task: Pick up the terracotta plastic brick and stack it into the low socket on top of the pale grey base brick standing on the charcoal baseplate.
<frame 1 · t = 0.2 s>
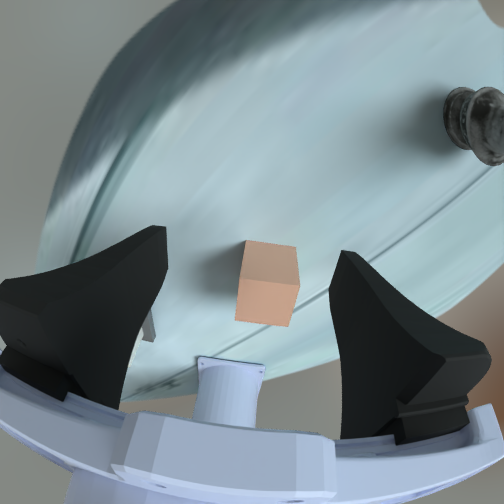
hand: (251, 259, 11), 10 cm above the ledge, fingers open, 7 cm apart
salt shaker: (466, 118, 15), on the ledge
terracotta brick: (267, 263, 24), on the ledge
tower base: (118, 304, 28), on the ledge
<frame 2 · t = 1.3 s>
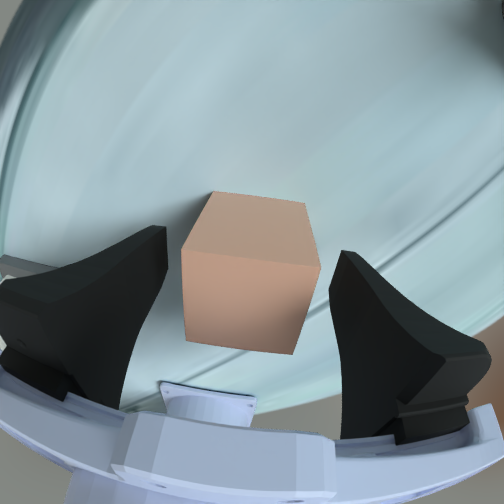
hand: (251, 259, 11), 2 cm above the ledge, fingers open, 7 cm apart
terracotta brick: (253, 236, 13), on the ledge
tower base: (49, 304, 17), on the ledge
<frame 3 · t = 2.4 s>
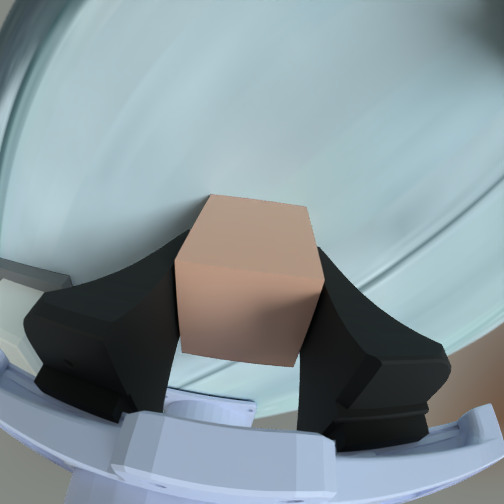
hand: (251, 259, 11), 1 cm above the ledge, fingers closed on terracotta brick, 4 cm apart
terracotta brick: (253, 241, 13), on the ledge, touching gripper
tower base: (45, 308, 17), on the ledge
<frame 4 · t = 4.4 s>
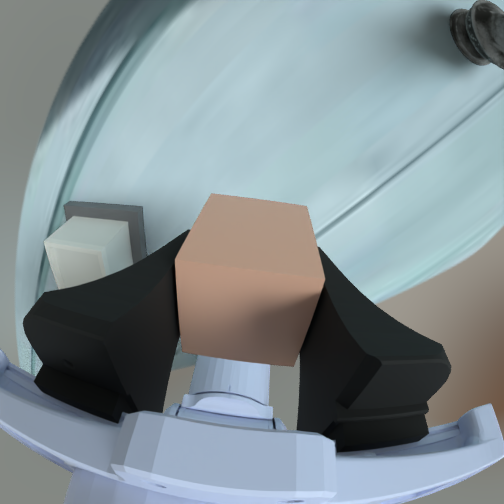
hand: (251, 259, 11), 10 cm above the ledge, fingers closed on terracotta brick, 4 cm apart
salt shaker: (472, 36, 11), on the ledge
terracotta brick: (253, 241, 13), point 9 cm above the ledge, touching gripper
tower base: (108, 242, 24), on the ledge
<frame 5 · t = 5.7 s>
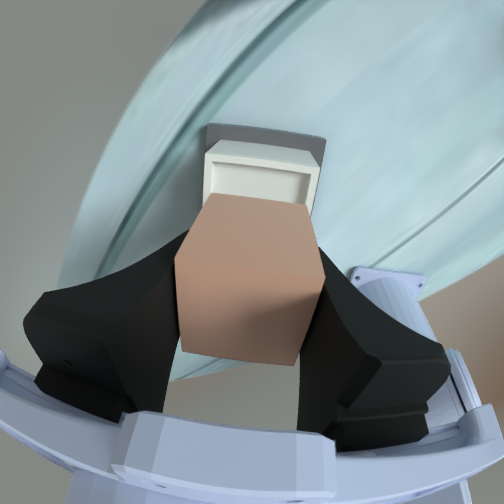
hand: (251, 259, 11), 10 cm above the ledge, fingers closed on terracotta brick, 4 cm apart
terracotta brick: (253, 240, 13), point 9 cm above the ledge, touching gripper
tower base: (260, 181, 20), on the ledge
when the fingers open (8 cm above the ledge, at t = 6.7 s): terracotta brick drops 1 cm, resting on tower base.
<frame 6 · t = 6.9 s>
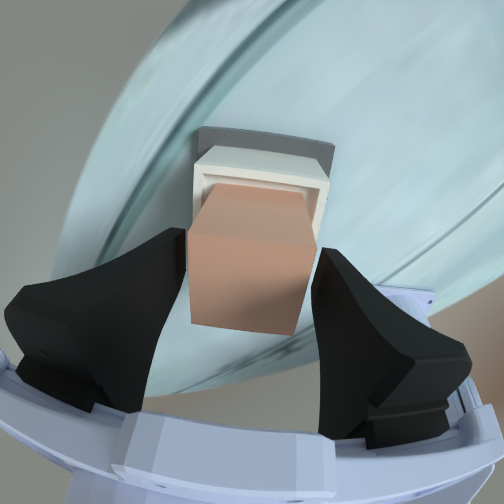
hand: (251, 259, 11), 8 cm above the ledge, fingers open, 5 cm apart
terracotta brick: (255, 225, 14), point 5 cm above the ledge, touching tower base
tower base: (259, 192, 18), on the ledge
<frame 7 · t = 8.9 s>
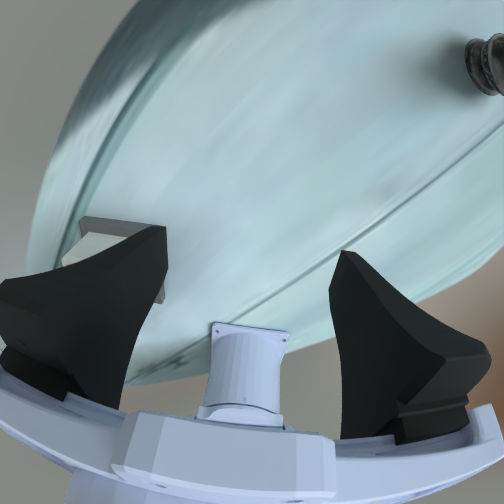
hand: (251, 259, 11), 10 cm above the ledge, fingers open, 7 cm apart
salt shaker: (484, 66, 13), on the ledge
tower base: (124, 258, 25), on the ledge
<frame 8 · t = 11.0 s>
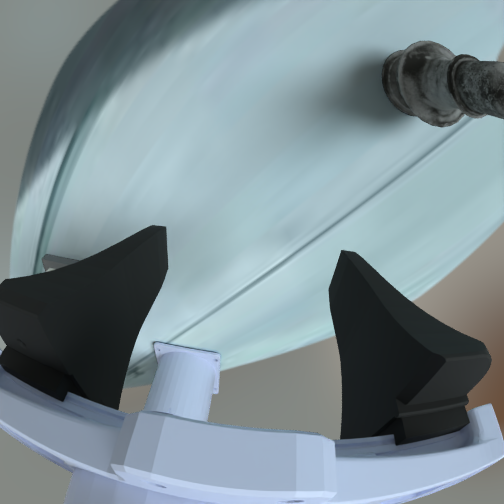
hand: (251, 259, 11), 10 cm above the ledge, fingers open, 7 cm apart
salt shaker: (412, 82, 15), on the ledge
tower base: (79, 288, 28), on the ledge
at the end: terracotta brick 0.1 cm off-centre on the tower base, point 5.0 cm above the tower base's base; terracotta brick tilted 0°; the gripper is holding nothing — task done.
